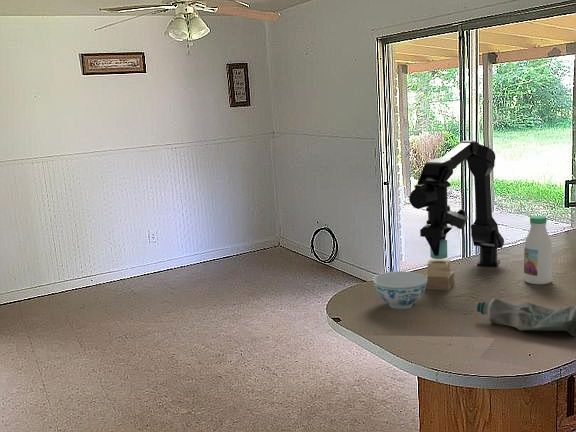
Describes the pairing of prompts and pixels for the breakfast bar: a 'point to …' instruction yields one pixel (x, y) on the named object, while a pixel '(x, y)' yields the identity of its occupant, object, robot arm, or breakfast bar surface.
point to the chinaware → (400, 288)
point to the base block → (440, 282)
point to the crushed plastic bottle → (529, 316)
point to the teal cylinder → (440, 250)
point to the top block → (438, 267)
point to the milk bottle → (538, 253)
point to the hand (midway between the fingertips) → (438, 253)
